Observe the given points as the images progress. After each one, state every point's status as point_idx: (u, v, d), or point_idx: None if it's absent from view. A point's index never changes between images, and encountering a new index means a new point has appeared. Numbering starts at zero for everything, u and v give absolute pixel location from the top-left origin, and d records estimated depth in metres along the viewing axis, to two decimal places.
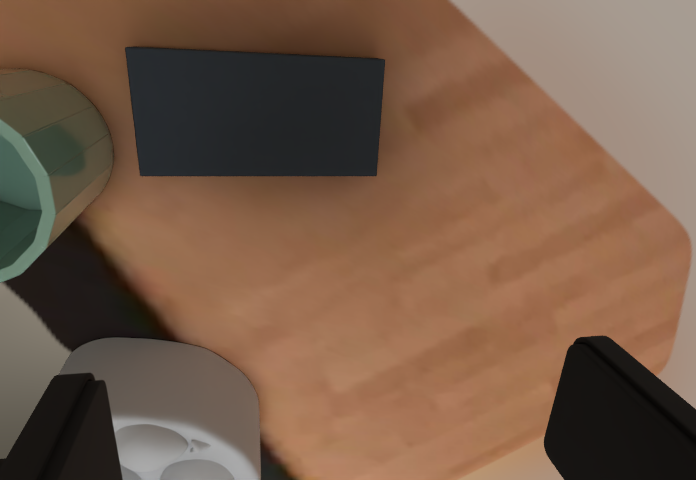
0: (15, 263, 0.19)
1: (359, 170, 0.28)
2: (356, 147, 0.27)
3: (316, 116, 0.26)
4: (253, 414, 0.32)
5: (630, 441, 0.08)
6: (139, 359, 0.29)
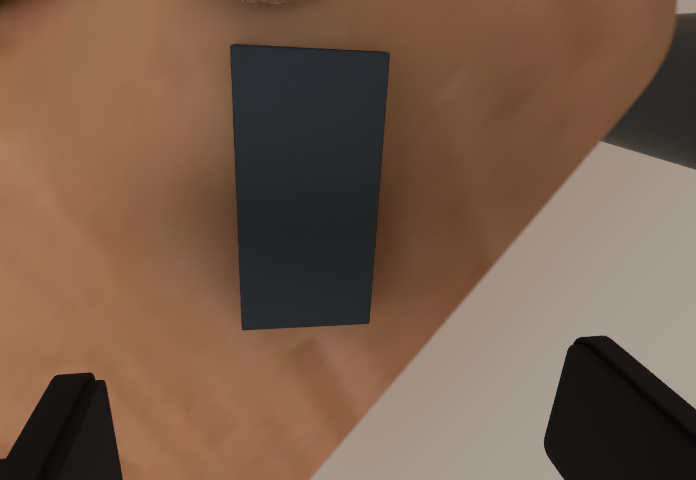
0: None
1: (248, 311, 0.23)
2: (276, 305, 0.23)
3: (311, 261, 0.23)
4: None
5: (630, 441, 0.08)
6: None
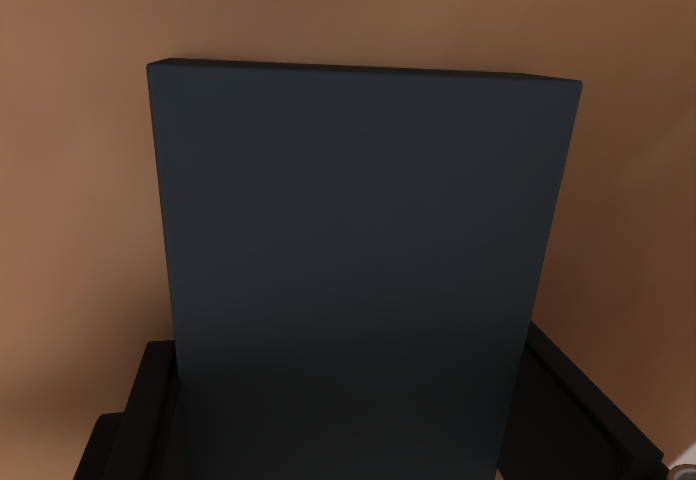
0: None
1: None
2: None
3: None
4: None
5: (537, 414, 0.09)
6: None
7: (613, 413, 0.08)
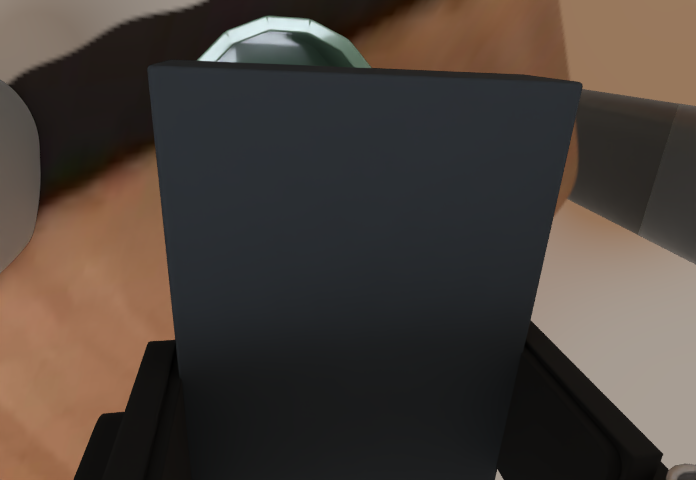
0: None
1: None
2: None
3: None
4: None
5: (536, 414, 0.09)
6: (22, 186, 0.24)
7: (612, 413, 0.08)
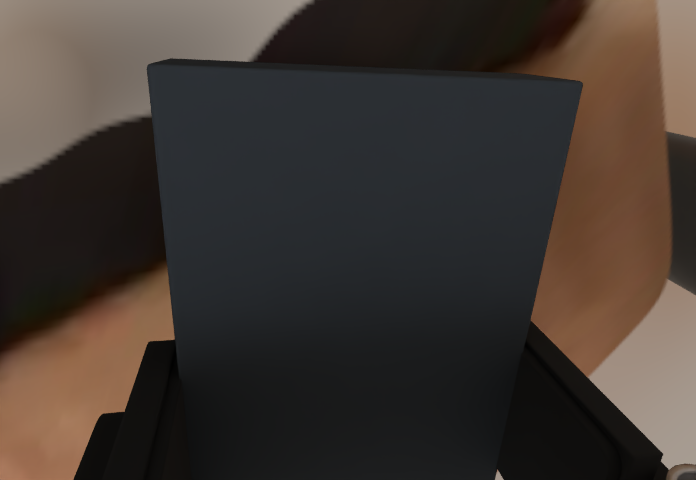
0: None
1: None
2: None
3: None
4: None
5: (536, 414, 0.09)
6: None
7: (612, 413, 0.08)
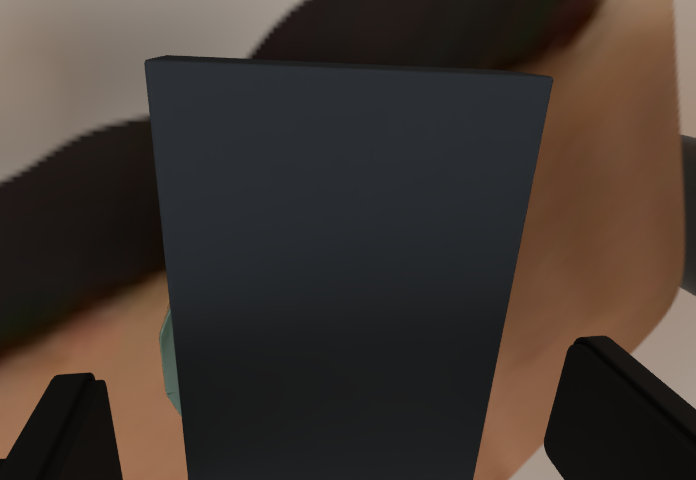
0: None
1: None
2: None
3: None
4: None
5: (630, 441, 0.08)
6: None
7: None
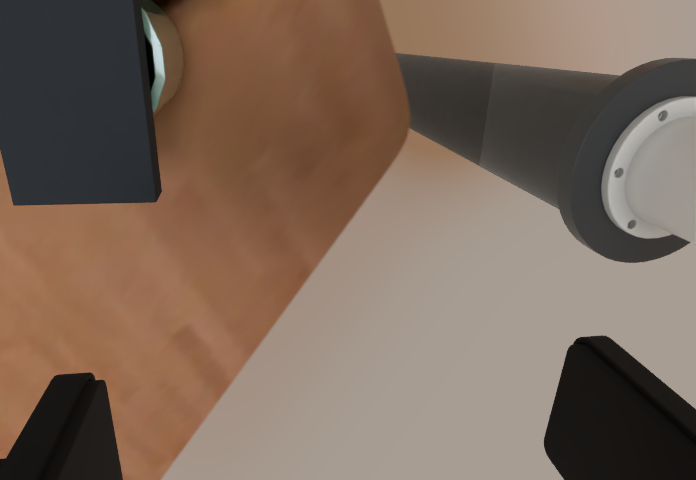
0: None
1: (16, 184, 0.22)
2: (46, 178, 0.23)
3: (77, 128, 0.22)
4: None
5: (630, 441, 0.08)
6: None
7: None
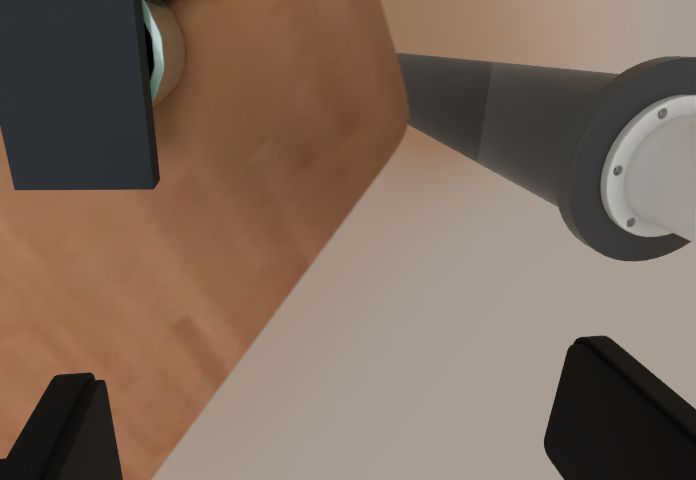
0: None
1: (17, 169, 0.23)
2: (47, 163, 0.23)
3: (77, 115, 0.22)
4: None
5: (630, 441, 0.08)
6: None
7: None
